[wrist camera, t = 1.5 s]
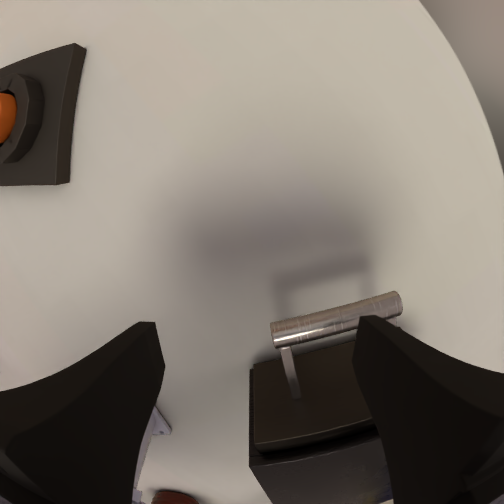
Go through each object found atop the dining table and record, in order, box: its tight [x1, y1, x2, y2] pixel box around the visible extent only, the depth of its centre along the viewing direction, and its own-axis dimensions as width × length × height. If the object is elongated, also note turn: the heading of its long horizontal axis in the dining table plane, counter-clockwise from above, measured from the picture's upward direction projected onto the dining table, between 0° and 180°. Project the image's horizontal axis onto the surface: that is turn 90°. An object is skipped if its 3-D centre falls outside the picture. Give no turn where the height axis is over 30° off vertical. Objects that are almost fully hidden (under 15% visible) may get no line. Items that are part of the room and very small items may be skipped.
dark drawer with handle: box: [254, 291, 403, 453], centre depth 17 cm, size 19×11×7 cm, turn 14°
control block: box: [0, 43, 86, 186], centre depth 13 cm, size 10×10×4 cm
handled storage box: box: [249, 369, 393, 504], centre depth 19 cm, size 15×13×9 cm
